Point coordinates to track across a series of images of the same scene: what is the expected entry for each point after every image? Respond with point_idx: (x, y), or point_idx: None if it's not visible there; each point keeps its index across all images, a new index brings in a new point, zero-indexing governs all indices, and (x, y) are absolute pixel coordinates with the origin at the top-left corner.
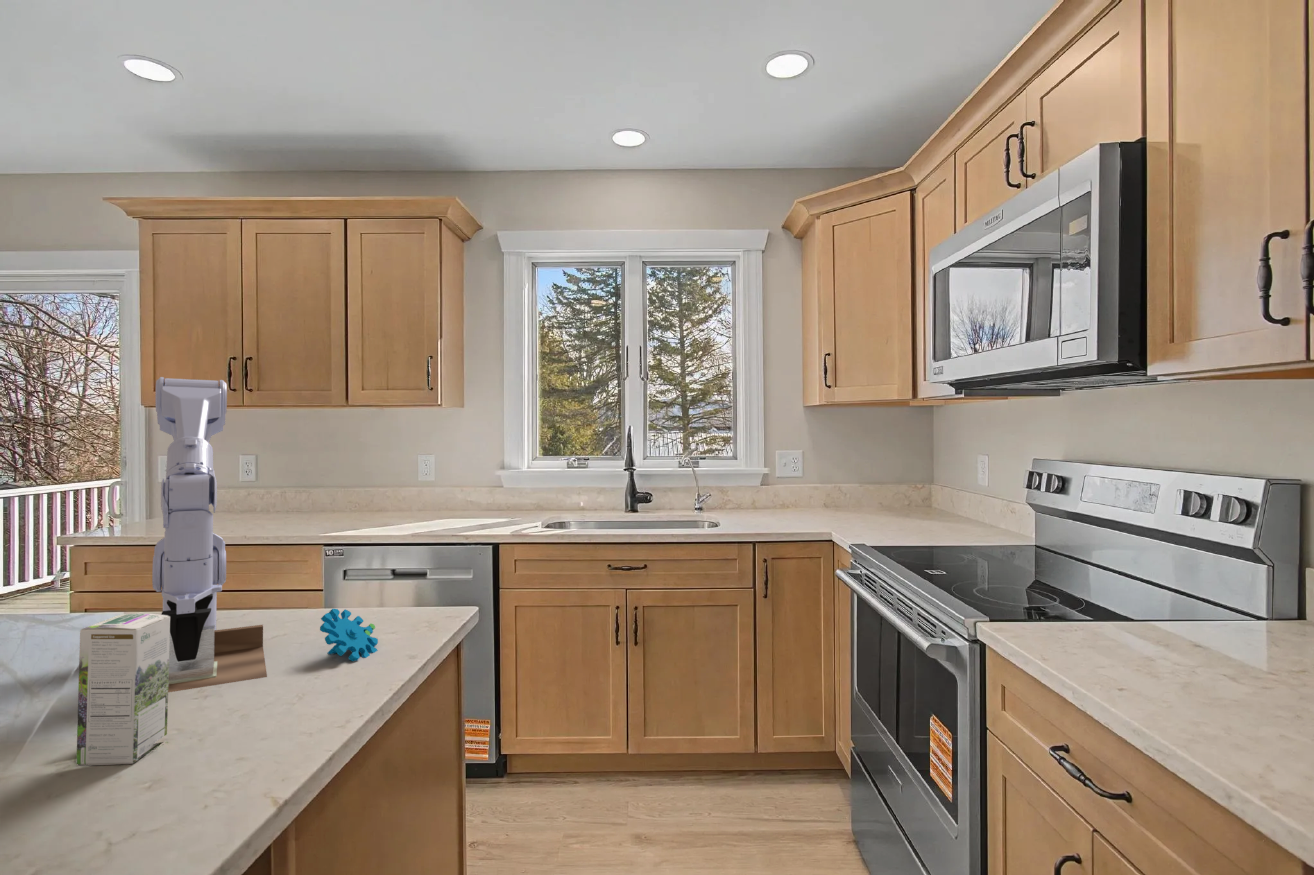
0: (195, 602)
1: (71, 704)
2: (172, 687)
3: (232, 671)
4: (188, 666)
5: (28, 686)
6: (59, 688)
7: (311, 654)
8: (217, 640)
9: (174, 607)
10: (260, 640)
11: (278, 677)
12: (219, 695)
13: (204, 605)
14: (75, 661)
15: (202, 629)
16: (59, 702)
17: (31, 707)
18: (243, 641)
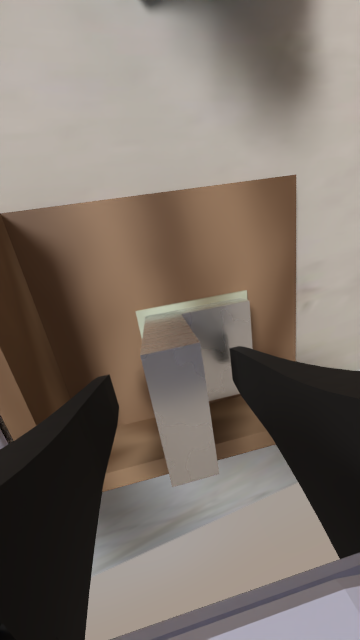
0: (29, 570)
1: (246, 461)
2: (271, 353)
3: (220, 263)
4: (225, 353)
5: (142, 540)
6: (166, 504)
7: (76, 50)
8: (23, 341)
9: (81, 605)
10: None
11: (258, 156)
12: (311, 268)
13: (25, 494)
14: None
15: (325, 367)
16: (231, 477)
17: (236, 496)
18: (3, 268)
